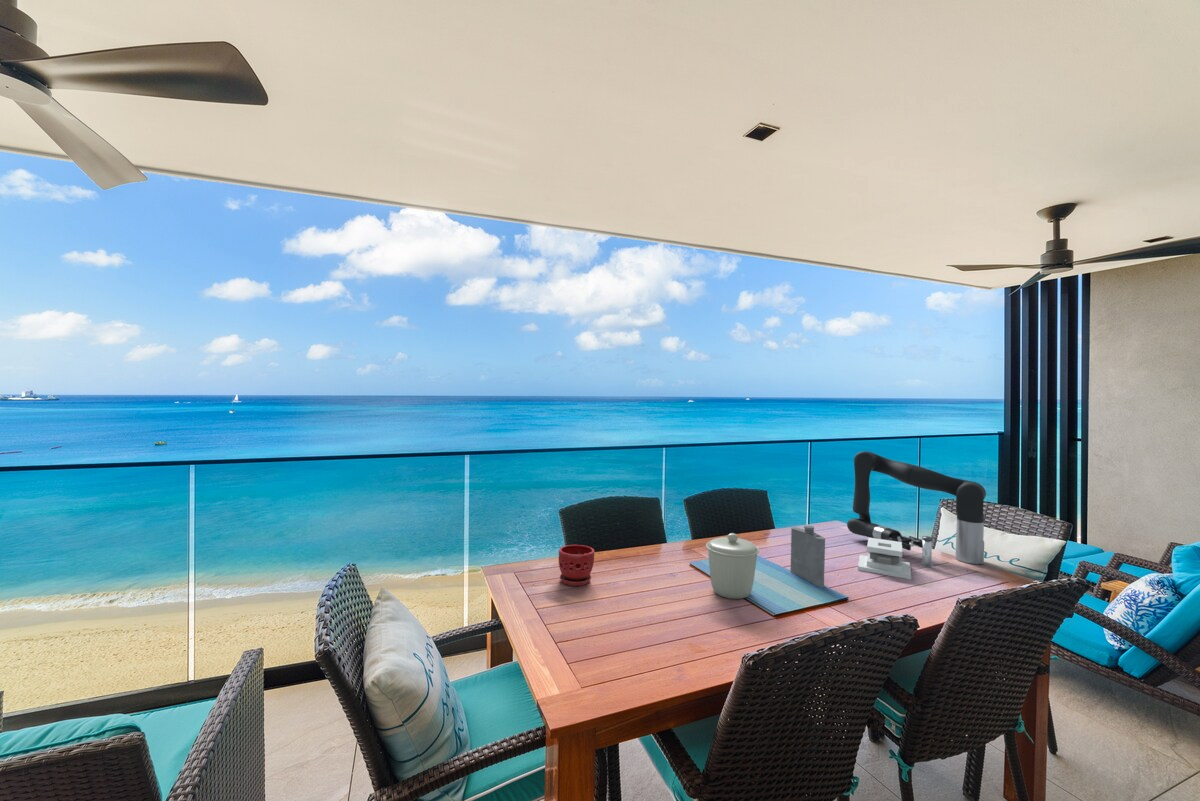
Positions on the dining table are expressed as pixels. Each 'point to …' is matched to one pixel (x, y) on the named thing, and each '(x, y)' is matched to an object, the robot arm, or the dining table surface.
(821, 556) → the hip flask
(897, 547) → the clevis bracket
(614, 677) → the dining table surface
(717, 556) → the canister
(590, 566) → the plant pot
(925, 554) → the clevis pin
